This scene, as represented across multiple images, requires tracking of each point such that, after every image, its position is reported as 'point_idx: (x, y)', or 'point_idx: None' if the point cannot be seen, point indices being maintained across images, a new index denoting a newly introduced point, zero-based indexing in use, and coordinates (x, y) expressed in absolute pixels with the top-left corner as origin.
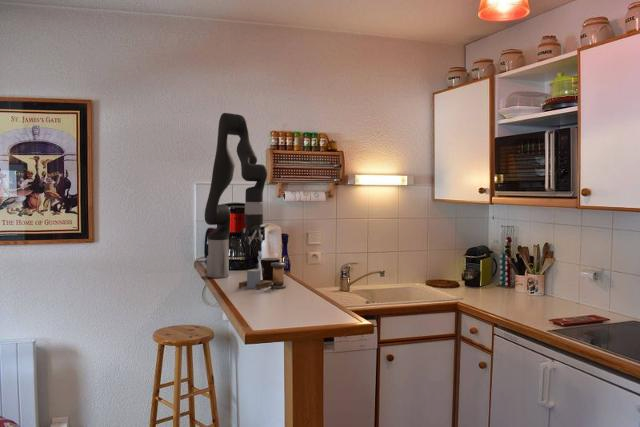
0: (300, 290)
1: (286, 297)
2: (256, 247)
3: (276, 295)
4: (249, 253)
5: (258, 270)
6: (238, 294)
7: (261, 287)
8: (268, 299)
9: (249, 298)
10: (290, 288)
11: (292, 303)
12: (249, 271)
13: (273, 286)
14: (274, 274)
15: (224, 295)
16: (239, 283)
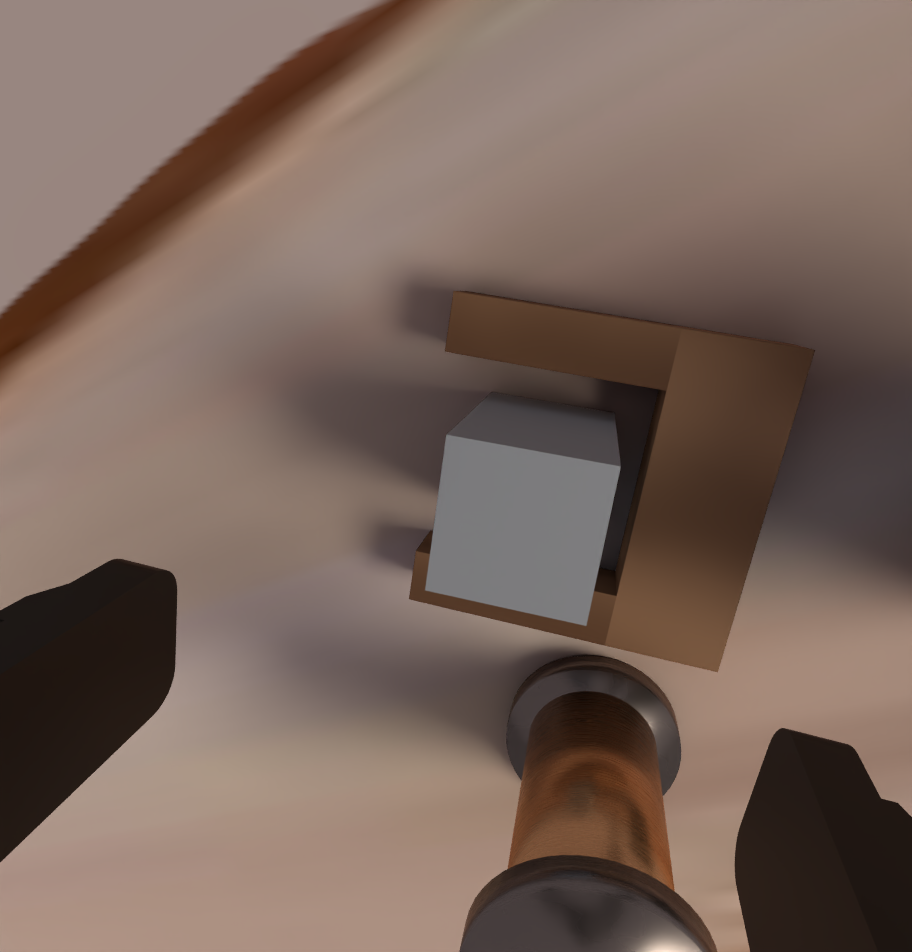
0: None
1: (166, 871)
2: (812, 827)
3: (206, 788)
4: (154, 680)
5: (527, 608)
6: (106, 459)
7: None
8: None
9: None
10: None
11: (7, 931)
12: (442, 478)
13: (513, 709)
14: (521, 812)
15: (9, 348)
16: (454, 299)
